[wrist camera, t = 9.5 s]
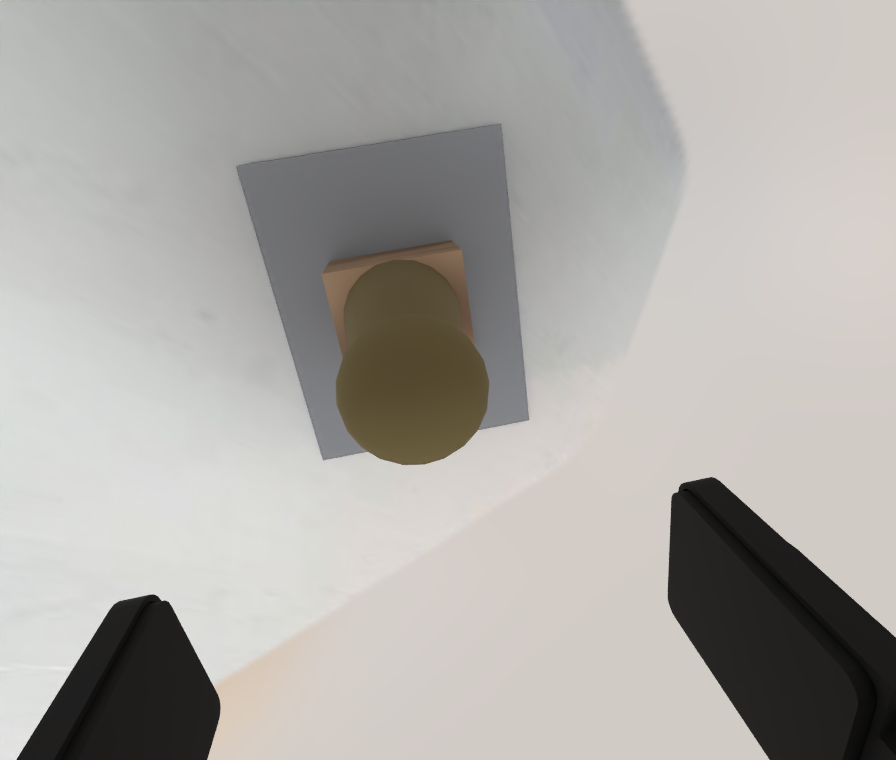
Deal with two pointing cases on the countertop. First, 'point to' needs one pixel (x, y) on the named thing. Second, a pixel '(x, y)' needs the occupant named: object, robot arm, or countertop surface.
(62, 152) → the countertop surface
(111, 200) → the countertop surface
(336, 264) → the walnut block
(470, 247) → the mat
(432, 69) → the countertop surface
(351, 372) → the olive green rounded piece
